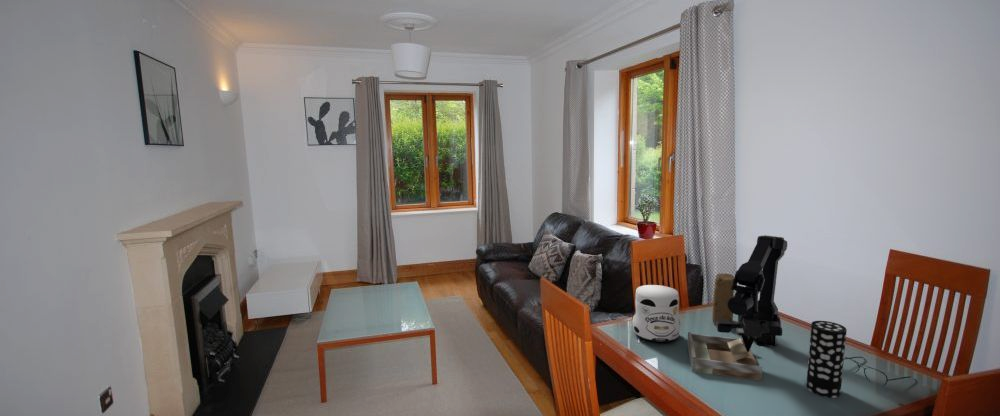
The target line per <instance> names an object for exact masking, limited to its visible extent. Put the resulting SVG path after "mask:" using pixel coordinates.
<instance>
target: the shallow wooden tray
mask: <svg viewBox="0 0 1000 416" xmlns="http://www.w3.org/2000/svg"><path fill="white" fill-rule="evenodd" d="M737 339H738V338H735V337H724V336H717V335H705V334H697V333H692V332H690V331H689V332H687V349H688V356H689V362H690V367H691V368H690V369H691V372H693V373H701V374H708V375H717V376H723V377H725V376H726V377H731V378H732V377H733V378H739V379H746V380H756V381H762V380H763V379H762V378H763V366H762V365H758V362H757V360H756V358H755V357H754V354H753V352H752V350H751V349H750V350H749V352H748V354H749V356H748V357H745V358H742V359H739V360H735V358H734V356H733V354H732V353H731V351H730V349H729V346H728V343H727V342H730V341H734V340H737ZM741 340H742V342H743V339H742V338H741ZM743 344H744V342H743ZM744 346H745V345H744Z"/></svg>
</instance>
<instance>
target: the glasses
mask: <svg viewBox="0 0 1000 416" xmlns="http://www.w3.org/2000/svg"><path fill="white" fill-rule="evenodd" d="M859 358H861V359H863V358H864V357H863V356H850V357H847V356H844V360H850V361H853V362H854V363H855V364H857V366H858V369H857V370H856V371H855V372H854V371H853V374H855V373H857V372H858V371H859V370H860V369H861V368H863V373H864V376H865V378H866V379H867V380H868V379H869V378H868V377H867V374H866V369H868V368H869V369H873V370H876V371H878V372H879V373H881V374H883V375H884V376H885V379H886V380H885V384H884V385H883V387H885V386H886V385H887V383H888V382H889V381H890V382H891V381H895V380H903V379H908V378H909V379H911V378H910V377H911V376H910V375H909V376H902V377H897V378H890V379H888V376H887V374H886V373H885V372H883V371H881V370H879V369H876V368H873V367H870V366H867V365H866V364H863V363H860V362H859V361H856V360H854V359H859ZM859 364H860V365H859ZM861 365H862V366H861ZM864 366H865V367H864Z"/></svg>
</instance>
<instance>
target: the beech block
mask: <svg viewBox="0 0 1000 416" xmlns="http://www.w3.org/2000/svg"><path fill="white" fill-rule="evenodd" d="M736 339H737V340H734V341H730V342H727V343H728V346H729V349H730V351H731V353H732V354H733V356H734V358H735V360H739V359H742V358H745V357H748V356H749V354H748V352H747V350H746V347H745V346H744V344H743V342H742V340H741V339H742V337H740V338H736Z"/></svg>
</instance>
